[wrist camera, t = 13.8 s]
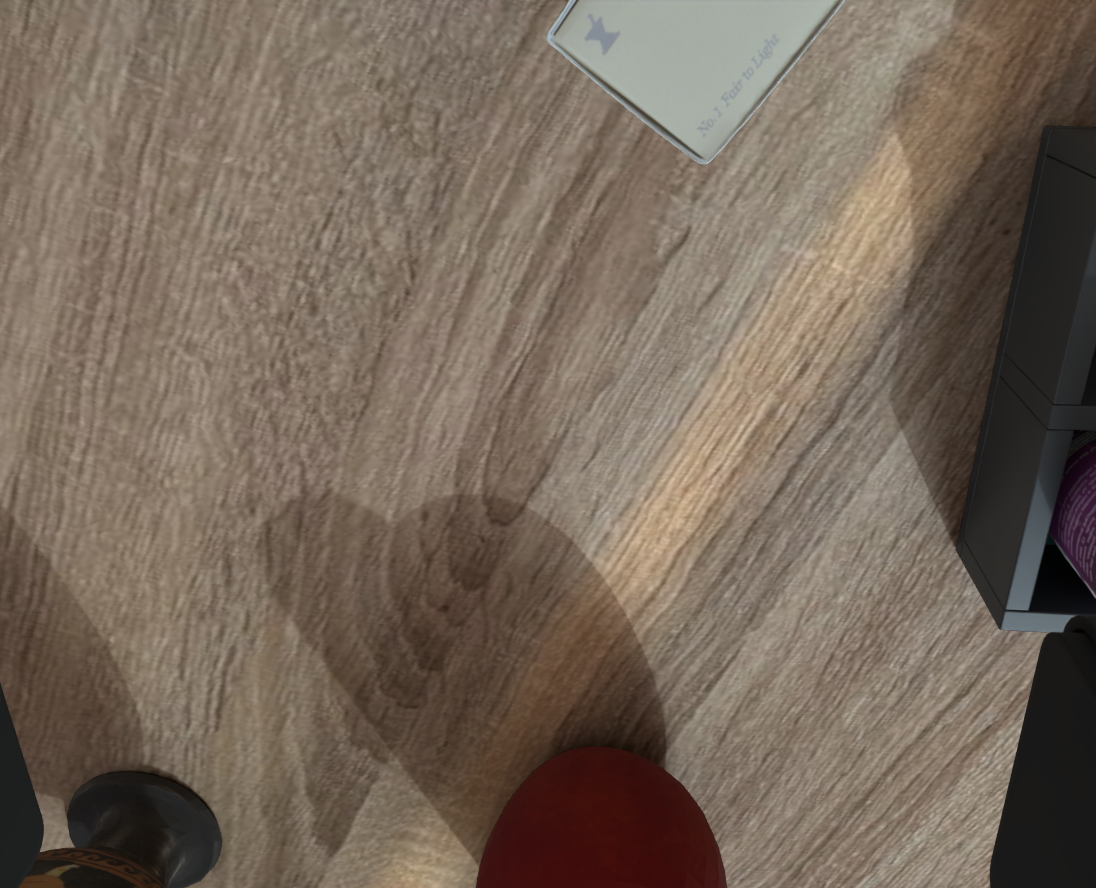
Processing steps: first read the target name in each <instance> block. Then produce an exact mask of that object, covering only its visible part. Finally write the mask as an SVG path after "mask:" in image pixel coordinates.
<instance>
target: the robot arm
mask: <svg viewBox="0 0 1096 888" xmlns="http://www.w3.org/2000/svg"><path fill="white" fill-rule="evenodd" d="M43 834H44V824H43V819H42V815H41V812H40V809H39V805H38V802H37V799H36V796H35V793H34V789H33V786H32V783H31V780H30V777H29V774H28V770H27V767H26V764H25V761H24V758H23V754H22V751H21V748H20V745H19V742H18V738H17V735H16V732H15V729H14V726H13V722H12V719H11V716H10V713H9V710H8V707H7V703H6V700H5V697H4V694H3V691H2V687H1V684H0V888H19V886H20V885H21V883H22V882H23V880H24V879H25V877H26V875H27V874H28V872H29V871H30V869H31V868H32V866H33V865H34V863H35V861H36V859H37V857H38V855H39V852H40V849H41V846H42V841H43ZM990 886H991V888H1096V616H1091V615H1077V616H1074V617H1072V618H1070V620H1069V621H1068V622H1067V624H1066V625H1065V628H1064V631H1063V632H1051V633H1048V634H1047V635H1046V637H1045V638H1044V640H1043V643H1042V646H1041V649H1040V653H1039V657H1038V662H1037V666H1036V670H1035V675H1034V679H1033V683H1032V687H1031V692H1030V696H1029V700H1028V705H1027V709H1026V713H1025V717H1024V722H1023V726H1022V730H1021V735H1020V739H1019V743H1018V747H1017V752H1016V756H1015V760H1014V765H1013V769H1012V773H1011V777H1010V782H1009V786H1008V790H1007V795H1006V799H1005V803H1004V807H1003V812H1002V816H1001V820H1000V825H999V829H998V833H997V837H996V842H995V846H994V850H993V855H992V859H991V865H990Z"/></svg>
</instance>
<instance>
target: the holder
mask: <svg viewBox="0 0 1096 888" xmlns="http://www.w3.org/2000/svg"><path fill="white" fill-rule="evenodd" d="M1073 430H1086V431H1096V127H1091V126H1047V125H1046V126H1044V130H1043V134H1042V139H1041V144H1040V149H1039V154H1038V158H1037V163H1036V168H1035V173H1034V177H1033V182H1032V187H1031V192H1030V197H1029V201H1028V206H1027V211H1026V216H1025V220H1024V225H1023V230H1022V235H1021V240H1020V244H1019V249H1018V254H1017V259H1016V263H1015V268H1014V273H1013V278H1012V283H1011V287H1010V292H1009V297H1008V302H1007V307H1006V311H1005V316H1004V321H1003V326H1002V330H1001V335H1000V340H999V345H998V350H997V354H996V359H995V364H994V369H993V373H992V378H991V383H990V388H989V393H988V397H987V402H986V407H985V412H984V416H983V421H982V426H981V431H980V436H979V440H978V445H977V450H976V455H975V460H974V464H973V469H972V474H971V479H970V483H969V488H968V493H967V498H966V503H965V507H964V512H963V517H962V522H961V526H960V531H959V536H958V541H957V546H956V552H957V553H958V555H959V557H960V558H961V560H962V562H963V564H964V566H965V568H966V569H967V571H968V573H969V575H970V577H971V579H972V580H973V582H974V584H975V586H976V588H977V589H978V591H979V593H980V595H981V597H982V599H983V600H984V602H985V604H986V606H987V608H988V609H989V611H990V613H991V615H992V617H993V619H994V620H995V622H996V624H997V626H998V628H999V629H1000V630H1011V631H1030V632H1049V633H1051V632H1063V631H1064V628H1065V625H1066V624H1067V622H1068V621H1069V620H1070V618H1072V617H1074V616H1077V615H1091V616H1096V598H1095V597H1094V595H1093V594H1092V593H1091V591H1090V590H1089V588H1088V587H1087V586H1086V584H1085V583H1084V582H1083V580H1082V579H1081V578H1080V577H1079V575H1078V574H1077V572H1076V571H1075V570H1074V568H1073V567H1072V566H1071V565H1070V563H1069V562H1068V561H1067V560H1066V558H1065V557H1064V555H1063V554H1062V553H1061V551H1060V549H1059V548H1058V546H1057V545H1056V544H1055V542H1054V541H1053V539H1052V538H1051V537H1050V535H1049V534H1048V532H1049V528H1050V524H1051V520H1052V516H1053V512H1054V508H1055V504H1056V500H1057V497H1058V493H1059V489H1060V485H1061V481H1062V477H1063V473H1064V469H1065V465H1066V461H1067V457H1068V453H1069V449H1070V445H1071V441H1072V437H1073V433H1074V431H1073Z"/></svg>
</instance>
